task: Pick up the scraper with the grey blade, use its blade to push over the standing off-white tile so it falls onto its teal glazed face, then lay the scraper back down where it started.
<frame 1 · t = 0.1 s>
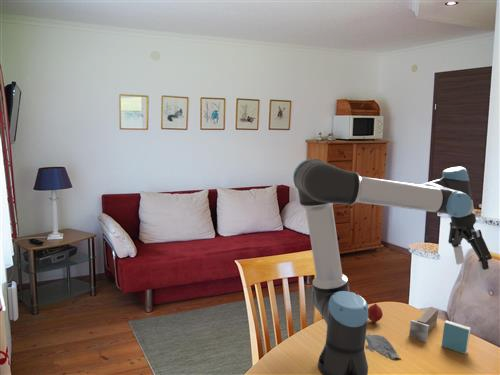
hand: (472, 270, 154), 28 cm above the table, tool tilted 20°, fingers open, 13 cm apart
scraper: (425, 330, 168), on the table
tile: (454, 349, 155), on the table
stone slab: (376, 347, 155), on the table
onion: (373, 323, 172), on the table
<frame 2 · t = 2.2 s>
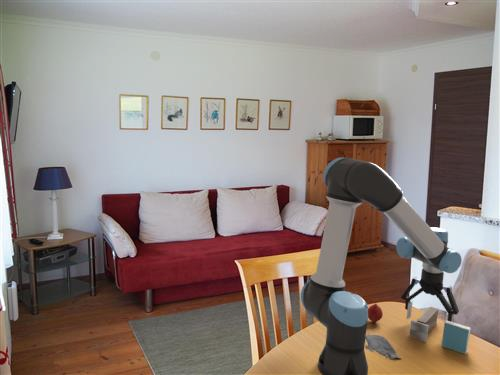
hand: (426, 323, 167), 3 cm above the table, tool pointing down, fingers open, 13 cm apart
nothing on the table moved.
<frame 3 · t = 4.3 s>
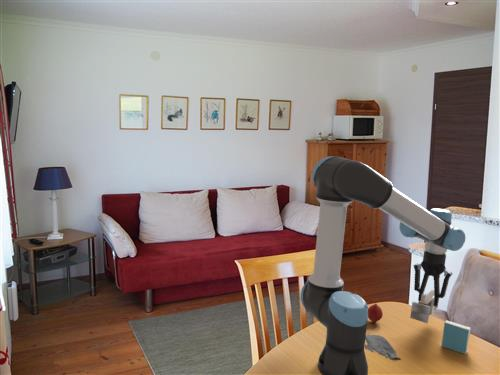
hand: (426, 311, 166), 7 cm above the table, tool pointing down, fingers closed on scraper, 3 cm apart
scraper: (426, 312, 166), point 7 cm above the table, touching gripper
everything else where it was.
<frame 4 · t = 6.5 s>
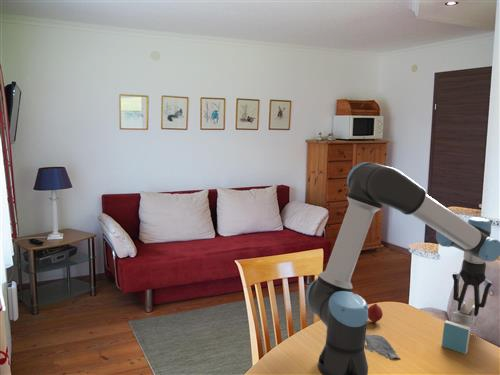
hand: (466, 321, 165), 5 cm above the table, tool pointing down, fingers closed on scraper, 3 cm apart
scraper: (466, 322, 165), point 5 cm above the table, touching gripper
everything else where it was.
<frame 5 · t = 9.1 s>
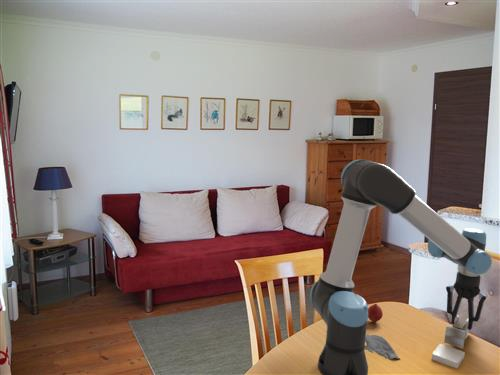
hand: (460, 335, 160), 3 cm above the table, tool pointing down, fingers closed on scraper, 3 cm apart
scraper: (460, 336, 160), point 2 cm above the table, touching gripper
tile: (451, 350, 152), point 1 cm above the table, tilted 90°
everything else where it was.
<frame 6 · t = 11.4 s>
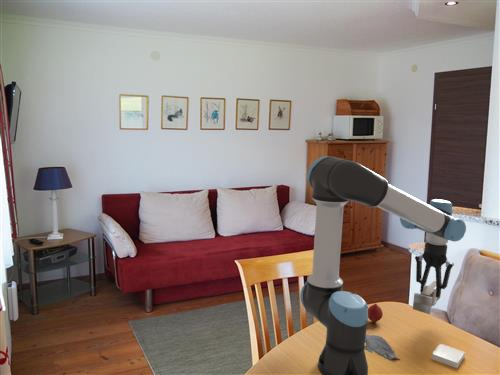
hand: (428, 302, 166), 11 cm above the table, tool pointing down, fingers closed on scraper, 3 cm apart
scraper: (428, 303, 166), point 10 cm above the table, touching gripper
everything else where it was.
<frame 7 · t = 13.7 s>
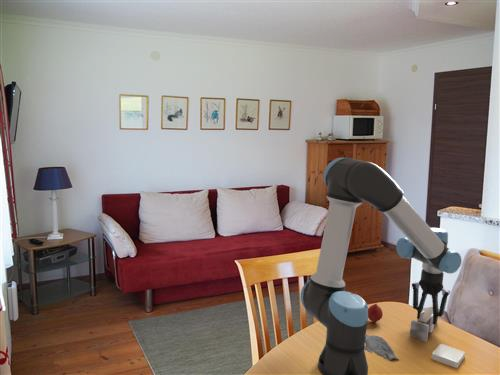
hand: (425, 329, 168), 0 cm above the table, tool pointing down, fingers closed on scraper, 3 cm apart
scraper: (425, 330, 168), on the table, touching gripper
when the fingers open (0 cm above the table, at t = 13.7 s): scraper stays where it is, on the table.
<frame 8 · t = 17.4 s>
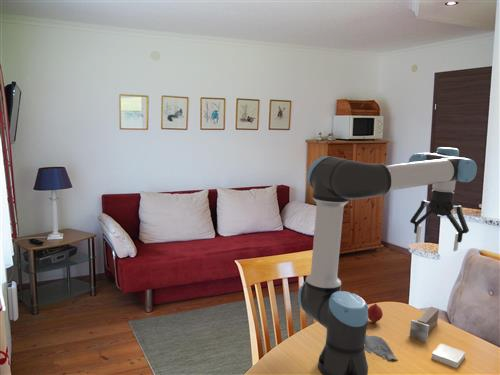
hand: (435, 246, 166), 32 cm above the table, tool pointing down, fingers open, 13 cm apart
scraper: (425, 330, 168), on the table
at the end: tile tilted 90°; scraper inside the target area (0.3 cm from its centre), on the table; the gripper is holding nothing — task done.
